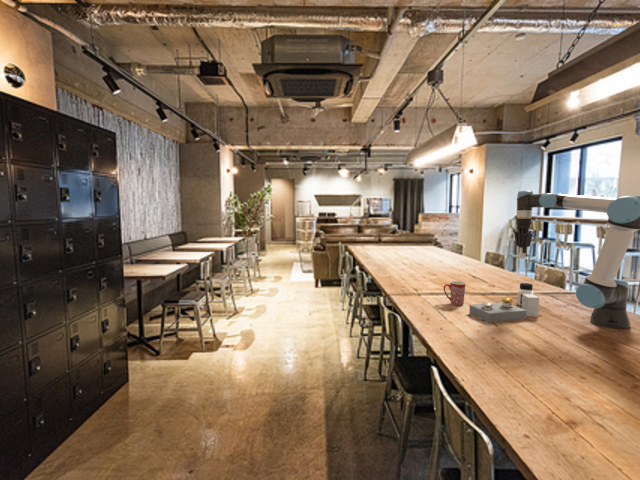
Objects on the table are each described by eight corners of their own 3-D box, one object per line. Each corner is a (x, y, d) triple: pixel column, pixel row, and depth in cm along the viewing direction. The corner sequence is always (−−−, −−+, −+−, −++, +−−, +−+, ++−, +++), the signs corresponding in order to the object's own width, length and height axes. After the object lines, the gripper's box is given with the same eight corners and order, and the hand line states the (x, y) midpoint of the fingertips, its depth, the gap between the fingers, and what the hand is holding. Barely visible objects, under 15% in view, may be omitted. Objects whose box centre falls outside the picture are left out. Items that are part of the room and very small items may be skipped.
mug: (465, 303, 208) (466, 281, 206) (464, 307, 200) (465, 284, 198) (444, 300, 213) (444, 280, 212) (442, 304, 205) (442, 283, 204)
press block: (526, 319, 176) (526, 310, 176) (489, 323, 172) (489, 313, 171) (503, 310, 192) (503, 302, 191) (469, 313, 187) (469, 304, 187)
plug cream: (494, 317, 178) (495, 304, 178) (486, 318, 177) (486, 305, 177) (488, 314, 183) (488, 301, 183) (479, 315, 182) (480, 302, 182)
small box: (538, 316, 180) (539, 297, 179) (527, 316, 181) (528, 297, 180) (532, 312, 188) (533, 294, 187) (521, 311, 189) (522, 293, 188)
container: (532, 306, 198) (533, 285, 197) (517, 304, 203) (518, 283, 202) (533, 303, 205) (534, 282, 203) (518, 301, 209) (519, 281, 208)
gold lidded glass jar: (514, 312, 181) (514, 299, 180) (506, 313, 180) (506, 300, 179) (507, 309, 186) (507, 297, 185) (499, 310, 185) (499, 297, 184)
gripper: (539, 218, 187) (537, 259, 189) (520, 217, 200) (518, 256, 202) (527, 218, 186) (526, 260, 188) (509, 217, 198) (508, 257, 200)
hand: (522, 258), depth 195 cm, fingers closed
